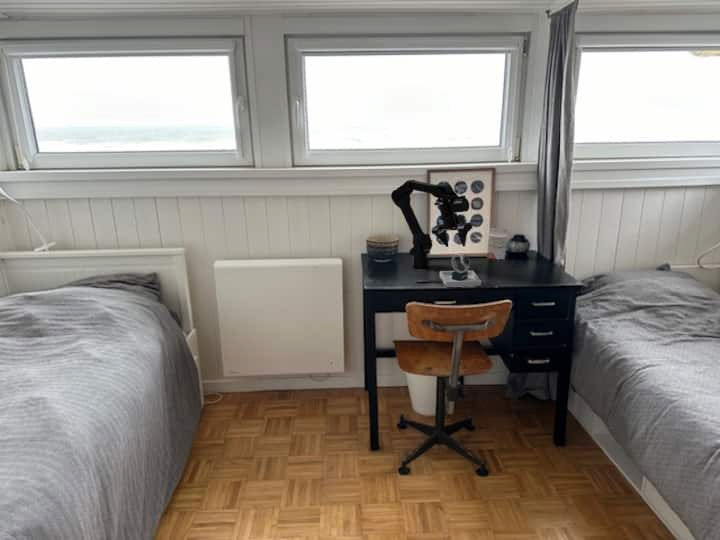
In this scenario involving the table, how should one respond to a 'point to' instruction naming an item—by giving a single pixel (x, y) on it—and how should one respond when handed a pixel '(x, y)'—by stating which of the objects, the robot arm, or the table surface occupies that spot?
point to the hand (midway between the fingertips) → (455, 246)
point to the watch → (460, 274)
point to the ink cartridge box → (497, 243)
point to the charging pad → (448, 281)
